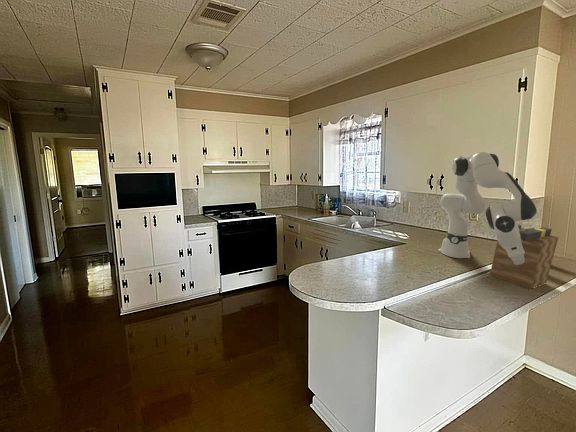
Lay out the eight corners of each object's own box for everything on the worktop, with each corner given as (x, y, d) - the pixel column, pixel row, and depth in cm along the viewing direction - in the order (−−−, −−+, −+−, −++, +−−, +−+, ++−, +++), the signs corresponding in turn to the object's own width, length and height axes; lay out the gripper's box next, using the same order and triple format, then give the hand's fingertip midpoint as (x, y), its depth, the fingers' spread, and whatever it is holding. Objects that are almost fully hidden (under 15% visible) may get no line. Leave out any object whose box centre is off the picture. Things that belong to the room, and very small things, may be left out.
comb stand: (530, 289, 162) (543, 238, 155) (489, 274, 179) (500, 226, 172) (545, 284, 169) (559, 234, 162) (505, 269, 186) (516, 223, 179)
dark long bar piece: (542, 233, 168) (543, 227, 167) (550, 235, 165) (551, 229, 164) (517, 238, 157) (519, 232, 156) (525, 241, 154) (527, 234, 153)
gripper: (492, 221, 153) (496, 232, 163) (510, 260, 142) (513, 270, 151) (507, 216, 150) (510, 228, 160) (526, 255, 139) (528, 266, 148)
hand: (511, 249), depth 156 cm, fingers open, 8 cm apart
